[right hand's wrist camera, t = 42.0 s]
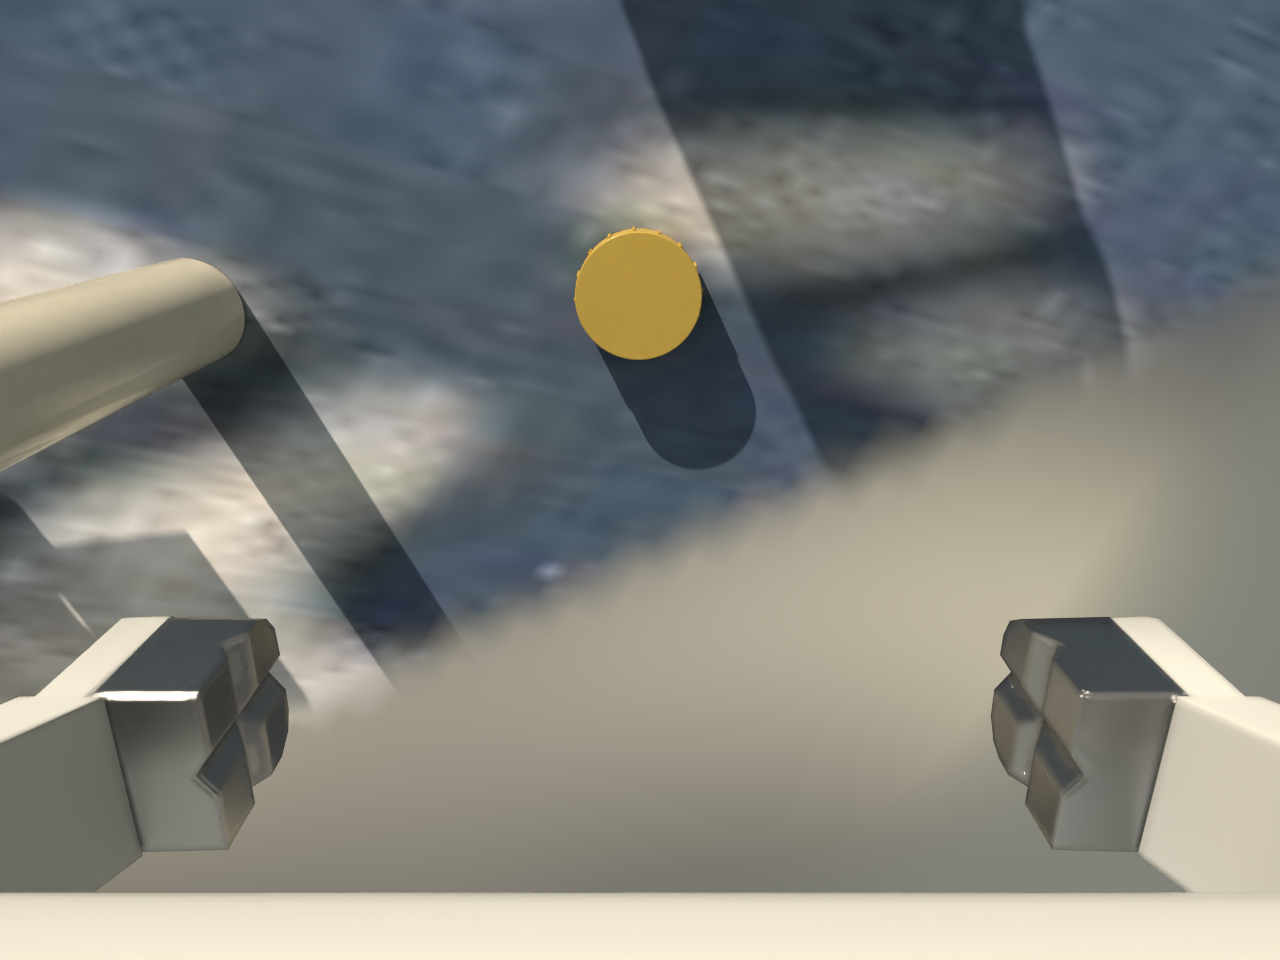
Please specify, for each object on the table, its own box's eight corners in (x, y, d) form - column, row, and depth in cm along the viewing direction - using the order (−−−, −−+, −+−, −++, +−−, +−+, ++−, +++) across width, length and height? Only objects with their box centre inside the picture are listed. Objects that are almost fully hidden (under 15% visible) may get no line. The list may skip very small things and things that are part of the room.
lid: (683, 212, 36) (684, 215, 34) (713, 334, 38) (716, 342, 36) (560, 247, 36) (557, 251, 35) (596, 366, 38) (594, 375, 37)
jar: (143, 354, 38) (-227, 512, 22) (137, 250, 36) (-265, 337, 20) (246, 368, 38) (-44, 535, 22) (244, 266, 37) (-67, 363, 20)
